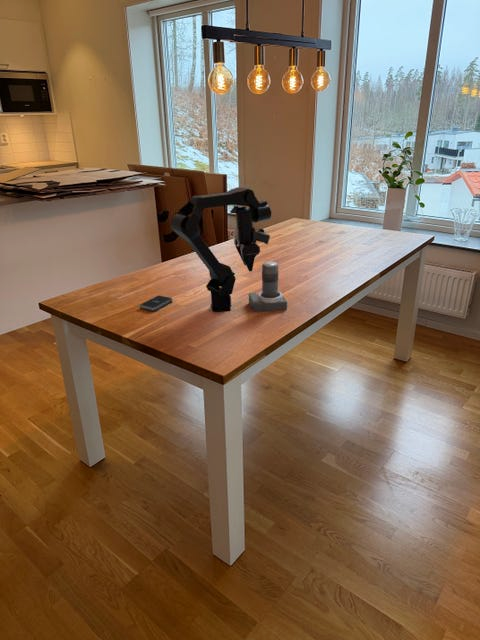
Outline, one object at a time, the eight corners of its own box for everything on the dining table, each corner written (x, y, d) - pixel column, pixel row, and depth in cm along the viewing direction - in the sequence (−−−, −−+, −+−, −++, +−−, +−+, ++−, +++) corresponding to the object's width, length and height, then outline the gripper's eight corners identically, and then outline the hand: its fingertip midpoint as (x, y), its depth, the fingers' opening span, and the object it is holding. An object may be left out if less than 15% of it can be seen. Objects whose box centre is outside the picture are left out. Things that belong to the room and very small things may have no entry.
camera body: (253, 312, 156) (253, 300, 154) (249, 303, 164) (248, 291, 162) (286, 309, 158) (287, 297, 156) (280, 300, 166) (280, 289, 164)
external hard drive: (173, 303, 167) (172, 298, 166) (153, 313, 158) (153, 308, 157) (158, 300, 170) (158, 295, 169) (139, 310, 161) (138, 305, 161)
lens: (263, 301, 157) (263, 266, 151) (260, 296, 162) (260, 262, 157) (279, 300, 157) (280, 265, 152) (275, 294, 163) (276, 261, 157)
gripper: (273, 226, 147) (276, 271, 153) (261, 218, 164) (264, 259, 170) (240, 230, 146) (244, 275, 152) (232, 221, 163) (235, 263, 169)
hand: (248, 268), depth 161 cm, fingers open, 9 cm apart
